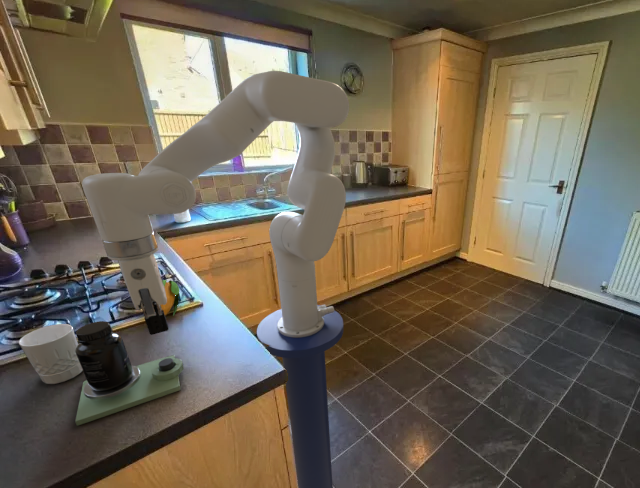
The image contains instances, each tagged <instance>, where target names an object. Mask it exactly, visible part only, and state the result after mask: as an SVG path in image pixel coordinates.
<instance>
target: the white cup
mask: <svg viewBox="0 0 640 488" xmlns="http://www.w3.org/2000/svg"><path fill="white" fill-rule="evenodd" d="M78 344H79V342H78V338H77V335H76V332H75V331H74V327H73V326H72V325H71V324H68V323H57V324H51V325H46V326H43V327H40V328H37V329H35V330H32V331H30V332H29V333H26V334H25V335H23V336H22V337H21V338H20V339H18V345H19V346H20V349H21V350H22V351H23V353H24V354H25V356H26V358H27V360H28V362H29V363H30V365H31V366H32V367H33V369H34V371H35V372H36V373H37V374H38V376H39V378H40V380H41V381H42V383H44V384H46V385H55V384H59V383H64V382H66V381H69V380H71V379H74V378H75V377H77V376H78V375H80V374H81V373H82V372H83V369H82V367H81V365H80V362H79V360H78V358H77V355H76V352H75V350H76V347H77V345H78Z"/></svg>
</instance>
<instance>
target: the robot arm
mask: <svg viewBox="0 0 640 488" xmlns="http://www.w3.org/2000/svg"><path fill="white" fill-rule="evenodd" d="M349 101H350V100H349V98H348V95H347V94H346V92H345V90H344V89H343V88H342V87H341V86H340V85H338V84H337V83H334V82H332V81H328V80H324V79H319V78H315V77H310V76H304V75H300V74H296V73H291V72H287V71H282V70H268V71H264V72H258V73H255V74H252V75H249V76H247V78H244V80H242V82H240V83H239V84H238V85H237V86H236V87H235V88H234V89H232V90H231V91H230V92H229V93H228V94H227V95H226V96H225V97H224V98H223V99H222V100H221V101H220V102H219V103H218V104H217V105H216V106H214V107H213V108H212V109H211V110H210V111H209V112H208V113H206V115H205V116H204V117H202V118H201V119H200V120H198V121H197V122H196V123H194V124H193V125H192V126H190V127H189V128H188V129H187V130H186V131H184V133H182V134H181V135H180V136H178V137H177V138H175V139H174V140H173V141H171V142H170V143H169V144H168V145H166V147H164V148H163V149H162V150H161V151H159V153H158V154H157V155H156V156H154V157H153V158H152V159H151V160H150V161H149V162H148V163H147V164H146V165H145V166H144V167H143V168H142V169H141V170H140V171H139V172H138V175H133V174H130V173H127V172H107V173H105V172H104V173H96V174H90V175H87V176H86V177H84V178H83V179H82V181H81V187H82V190H83V193H84V195H85V198H86V201H87V204H88V206H89V209H90V212H91V214H92V217H93V220H94V223H95V226H96V228H97V229H96V230H97V231H98V234H99V237H100V240H101V242H102V245H103V248H104V250H105V253H106V257H107V259H109V260H111V261H117V263H118V266H119V269H120V272H121V275H122V277H123V281H124V283H125V286H126V289H127V292H128V294H129V296H130V299H131V302H132V305H133V306H134V309H135V310H136V311H141V310H142V313H143V316H144V318H143V319H144V322H145V324H146V327H147V328H146V329H147V331H148V334H149V335H150V336H153V335H158V334H161V333H164V332H169V324H168V321H167V318H166V315H165V314H164V311H163V310H162V309H161V305H162V304H163V305H165V304H166V303H167V298H166V292H165V288H164V285H163V282H162V280H163V278H162V275H161V272H160V269H159V265H158V262H157V259H156V256H155V253H157V252H158V251H159V246H158V243H157V240H156V236H155V232H154V228H153V225H152V220H151V219H150V215H174V214H178V213H182V212H185V211H187V210H188V209H189V210H190V209H191V208H192V207H193V206H194V204H195V203H196V199H197V189H196V187H195V185H194V184H193V182H194V181H195V180H196V179H197V178H198V177H199V176H200V175H202V174H203V173H204V172H206V171H207V170H209V169H211V168H213V167H214V166H216V165H220V164H222V163H226V162H229V161H232V160H233V159H235V158H237V157H239V156H240V155H241V154H242V153H244V152H245V150H247V148H248V147H250V145H251V144H252V143H253V142H254V141H255V140H256V139H257V138H259V136H260V135H261V134H263V132H264V131H265V130H266V129H267V128H268V127H269V126H271V124H272V123H274V122H287V123H294V125H295V126H296V129H297V133H298V136H299V149H298V152H297V156H296V160H295V163H294V166H293V169H292V172H291V175H290V177H289V181H288V184H287V188H286V195H287V198H288V201H289V202H290V203H291V204H292V205H294V206H295V207H297V208H299V209H301V210H304V211H303V214H302V213H298V212H295V211H283V212H281V213H278V214H276V215H275V216H274V218H273V219H272V221H271V222H270V225H269V230H268V234H269V241H270V245H271V249H272V251H273V255H274V261H275V265H276V266H275V267H276V273H277V284H278V291H279V300H280V309H281V310H282V318H281V319H280V320H279V321H278V323H277V327H278V331H279V332H280V333H281V334H283V335H284V336H287V337H293V338H300V337H307V336H310V335H313V334H315V333H317V332H318V331H320V330H321V329H322V327H323V326H324V318H323V317H324V316H325V315H326V314H330V313H333V312H334V310H335V307H334V306H333V305H330V306H327V305H326V304H321V306H317V305H318V295H317V294H318V293H317V292H318V291H317V279H316V278H317V277H316V263H315V262H318V261H320V260H322V259H323V258H324V257H326V256H327V254H328V253H329V251H330V250H331V248H332V245H333V243H334V241H335V238H336V235H337V232H338V228H339V226H340V223H341V219H342V216H343V214H344V210H345V207H346V201H347V193H346V188H345V185H344V183H343V182H342V180H341V179H340V178H339V177H337V175H335V174H332V169H333V166H334V162H335V158H336V142H335V138H334V135H333V132H332V130H331V129H332V128H337V127H339V126H341V125H342V124H343V123H345V121H346V120H347V118H348V116H349V112H350V102H349ZM326 307H327V308H326Z"/></svg>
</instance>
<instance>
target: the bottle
mask: <svg viewBox="0 0 640 488" xmlns="http://www.w3.org/2000/svg"><path fill="white" fill-rule="evenodd" d="M173 219H174V222H175V223H182V224H183V223H188V222H190V221H191V220H192V219H191V214H190V209H188V210H187V211H185V212H182V213H178V214H173Z"/></svg>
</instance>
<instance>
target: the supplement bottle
mask: <svg viewBox="0 0 640 488" xmlns="http://www.w3.org/2000/svg"><path fill="white" fill-rule="evenodd" d="M75 336H76V339H77V342H78V345H77V347H76V350H75V352H76V355H77V358H78V360H79V362H80V365H81V367H82V369H83V371H82V372H83V374H84V377H85V379H86V381H88V384H89V386H90V387H91V388H92V389H93V390H96V391H105V390H110V389H113V388H116V387H118V386H120V385H122V384H124V383H125V382H126V381H128V380H129V379H130V378H131V376H132V374H133V368H132V366H133V364H132V363H131V360H130V357H129V354H128V351H127V348H126V345H125V342H124V339H123V337H122V336H121V335H120V334H119V333H117V332H114V330H113V328H112V326H111V323H110V322H109V321H105V320H100V321H94V322H90V323H87V324H85V325H83V326H81V327H79V328H78V329H76V331H75Z"/></svg>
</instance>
